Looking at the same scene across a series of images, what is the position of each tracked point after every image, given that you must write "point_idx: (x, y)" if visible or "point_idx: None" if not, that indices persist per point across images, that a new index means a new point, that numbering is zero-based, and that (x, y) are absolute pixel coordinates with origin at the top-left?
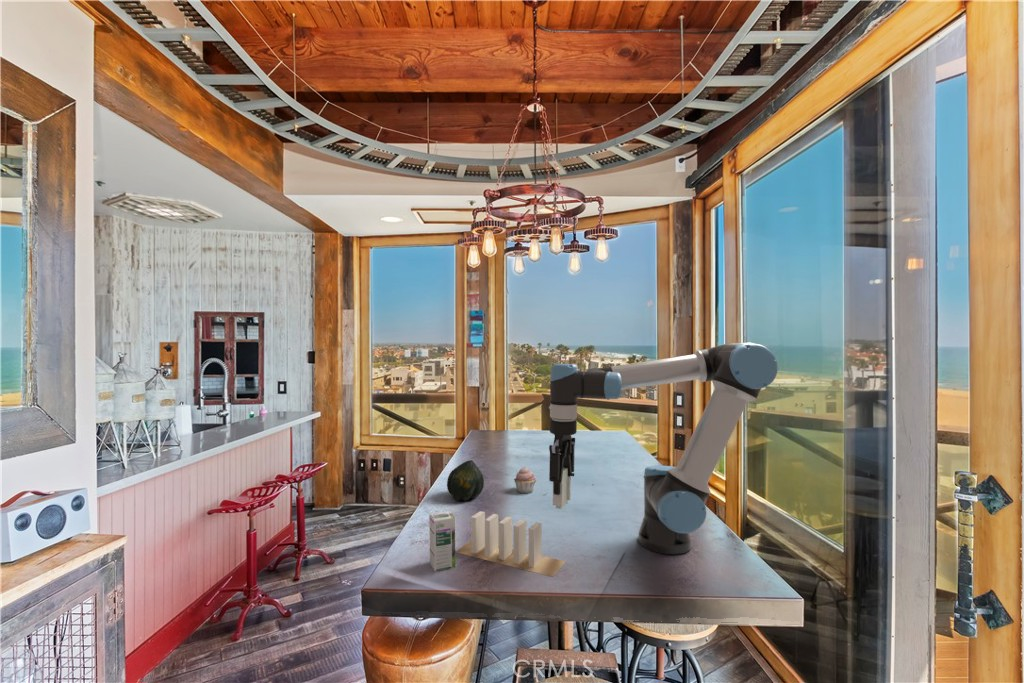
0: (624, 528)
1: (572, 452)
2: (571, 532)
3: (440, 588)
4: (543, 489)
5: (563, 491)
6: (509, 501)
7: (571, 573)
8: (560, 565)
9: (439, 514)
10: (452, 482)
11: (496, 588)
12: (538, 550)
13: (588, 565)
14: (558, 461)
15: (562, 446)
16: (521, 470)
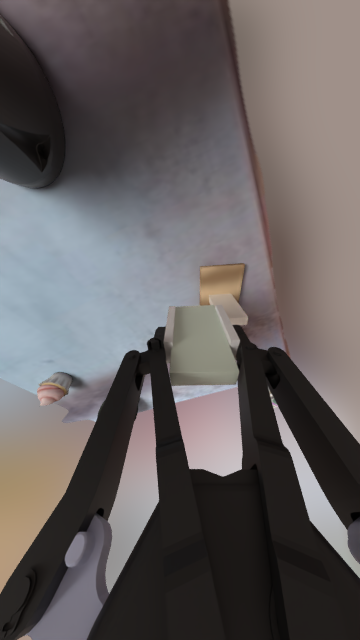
0: (31, 231)
1: (114, 440)
2: (112, 297)
3: (281, 342)
4: (39, 367)
5: (205, 325)
6: (98, 376)
7: (215, 250)
8: (213, 268)
9: (274, 404)
10: (134, 420)
11: (272, 307)
12: (222, 300)
13: (184, 237)
14: (344, 434)
15: (351, 593)
16: (50, 402)
